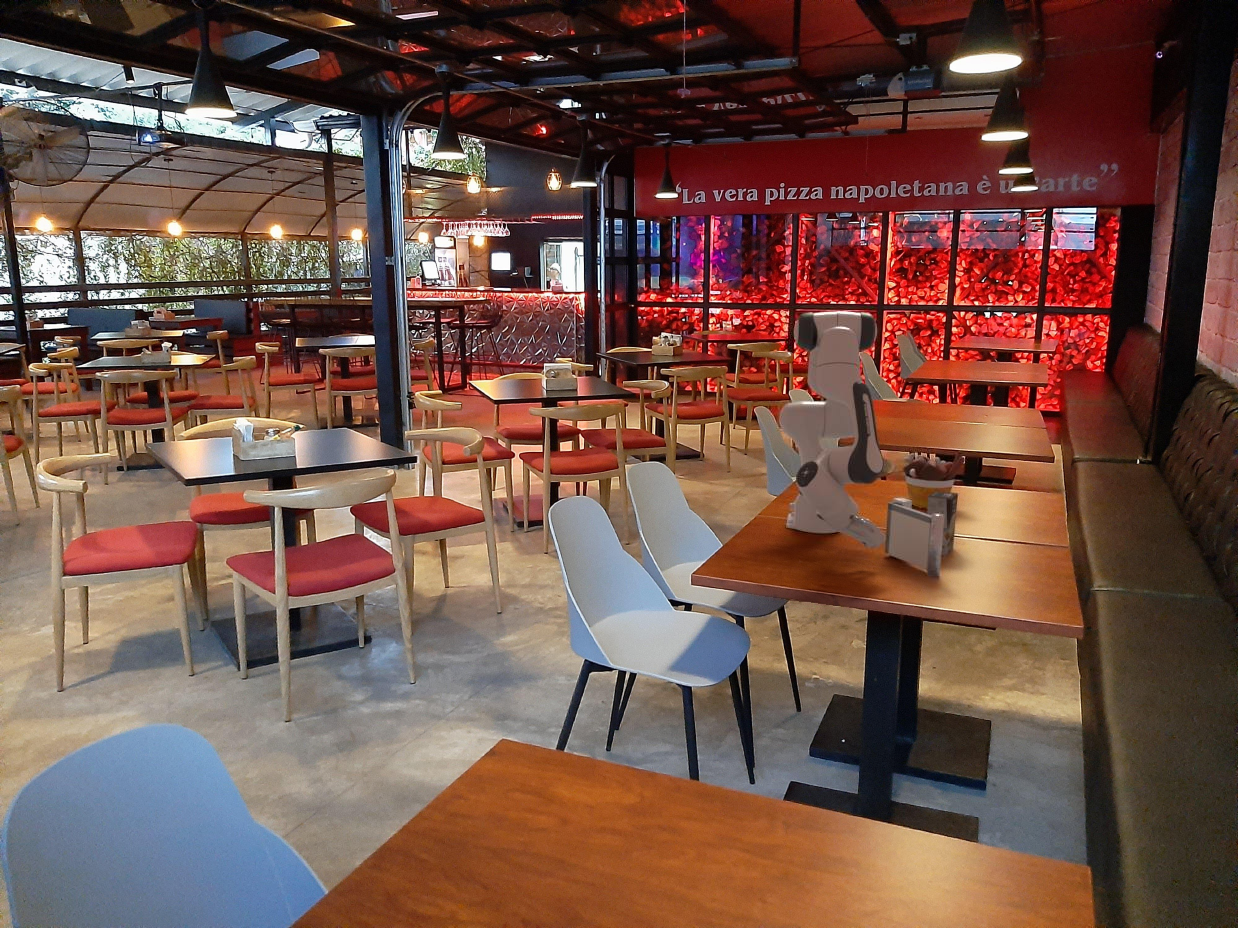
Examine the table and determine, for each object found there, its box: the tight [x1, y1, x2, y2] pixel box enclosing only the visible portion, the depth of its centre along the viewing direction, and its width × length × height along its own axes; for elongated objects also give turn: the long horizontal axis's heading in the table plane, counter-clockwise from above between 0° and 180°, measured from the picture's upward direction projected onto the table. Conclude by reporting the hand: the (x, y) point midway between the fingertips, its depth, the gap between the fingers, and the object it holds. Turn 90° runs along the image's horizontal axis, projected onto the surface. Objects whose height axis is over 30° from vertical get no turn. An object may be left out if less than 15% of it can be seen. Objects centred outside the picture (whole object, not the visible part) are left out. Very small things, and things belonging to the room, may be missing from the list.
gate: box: [884, 501, 932, 571], centre depth 238 cm, size 17×2×14 cm, turn 21°
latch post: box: [888, 497, 913, 560], centre depth 245 cm, size 4×3×16 cm
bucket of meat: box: [902, 450, 966, 510], centre depth 304 cm, size 20×16×20 cm
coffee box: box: [926, 491, 959, 556], centre depth 252 cm, size 9×6×16 cm
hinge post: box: [926, 513, 944, 578], centre depth 229 cm, size 3×3×16 cm
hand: (870, 545), depth 237 cm, fingers closed
